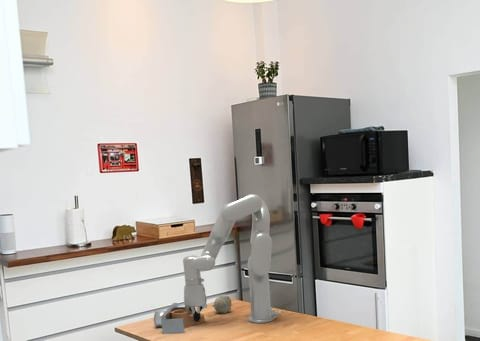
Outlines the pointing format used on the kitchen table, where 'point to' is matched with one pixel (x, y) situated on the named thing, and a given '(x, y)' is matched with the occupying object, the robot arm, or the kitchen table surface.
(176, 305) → the steel u-channel
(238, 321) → the kitchen table surface
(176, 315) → the bracket
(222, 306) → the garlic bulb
